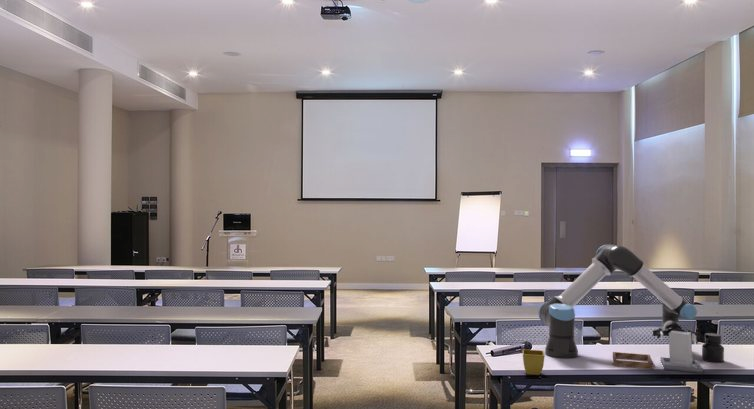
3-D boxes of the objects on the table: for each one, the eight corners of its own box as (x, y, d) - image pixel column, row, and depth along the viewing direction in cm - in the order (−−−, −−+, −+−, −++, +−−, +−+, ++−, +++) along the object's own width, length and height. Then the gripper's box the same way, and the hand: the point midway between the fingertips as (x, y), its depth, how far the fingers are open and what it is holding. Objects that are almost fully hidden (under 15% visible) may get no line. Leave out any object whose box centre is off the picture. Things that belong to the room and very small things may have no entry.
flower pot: (544, 377, 253) (544, 355, 253) (522, 375, 255) (523, 354, 255) (543, 371, 261) (543, 350, 262) (522, 370, 263) (522, 349, 263)
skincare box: (692, 365, 271) (692, 332, 271) (688, 368, 266) (689, 334, 266) (672, 362, 276) (672, 329, 276) (668, 365, 272) (668, 331, 272)
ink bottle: (729, 362, 280) (729, 336, 280) (712, 363, 278) (712, 337, 278) (713, 357, 290) (713, 332, 290) (697, 358, 288) (697, 332, 288)
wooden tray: (614, 365, 272) (614, 360, 272) (612, 357, 288) (612, 351, 288) (653, 369, 267) (653, 363, 267) (649, 360, 283) (649, 354, 283)
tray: (664, 369, 267) (664, 364, 267) (660, 361, 281) (660, 357, 281) (702, 372, 262) (702, 368, 262) (696, 364, 276) (696, 360, 276)
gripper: (701, 339, 295) (709, 348, 275) (645, 335, 304) (648, 344, 284) (701, 323, 295) (709, 331, 275) (645, 320, 304) (649, 327, 284)
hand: (678, 338), depth 279 cm, fingers open, 13 cm apart
